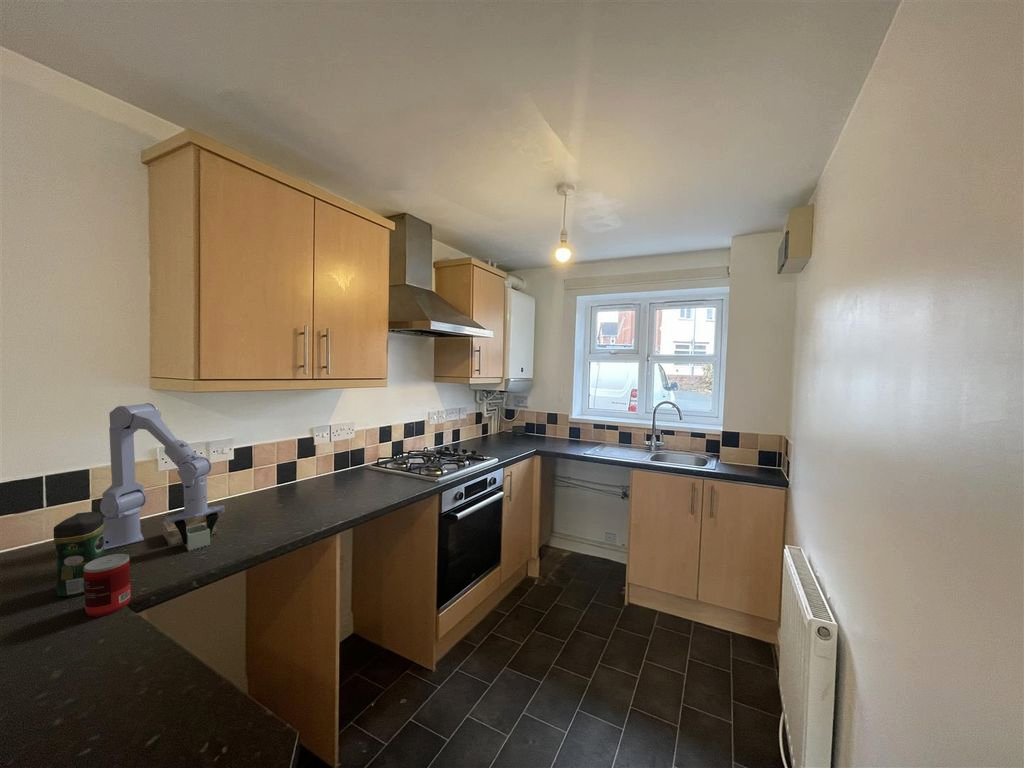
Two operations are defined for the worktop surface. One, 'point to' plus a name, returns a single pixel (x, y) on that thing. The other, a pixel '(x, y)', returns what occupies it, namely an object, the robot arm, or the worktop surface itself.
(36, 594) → the worktop surface
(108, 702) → the worktop surface
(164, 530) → the box
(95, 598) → the canned food
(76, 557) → the coffee jar
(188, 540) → the box
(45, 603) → the worktop surface
